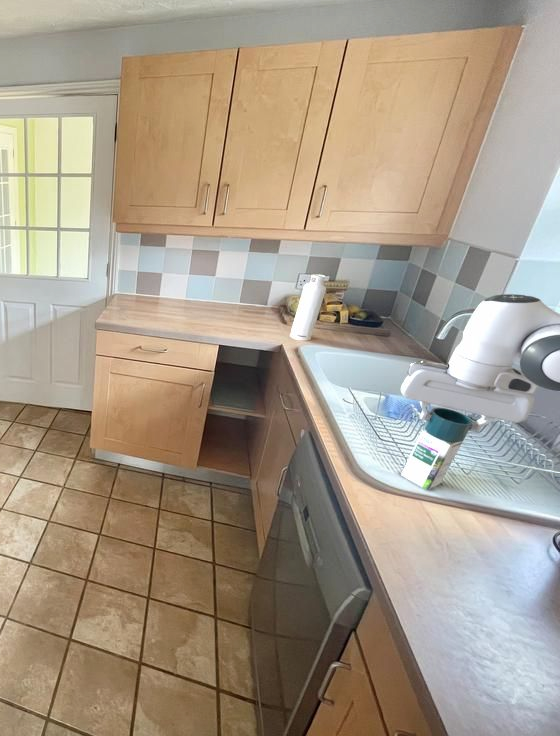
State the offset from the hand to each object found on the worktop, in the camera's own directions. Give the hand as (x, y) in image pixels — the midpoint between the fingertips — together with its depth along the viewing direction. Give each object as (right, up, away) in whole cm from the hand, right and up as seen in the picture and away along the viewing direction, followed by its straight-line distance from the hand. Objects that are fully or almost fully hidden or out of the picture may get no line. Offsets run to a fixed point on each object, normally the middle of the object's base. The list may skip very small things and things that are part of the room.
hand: (447, 424), depth 92 cm
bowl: (0, -2, +1) cm, 3 cm away
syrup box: (0, -16, +7) cm, 17 cm away
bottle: (+23, +23, +92) cm, 97 cm away
